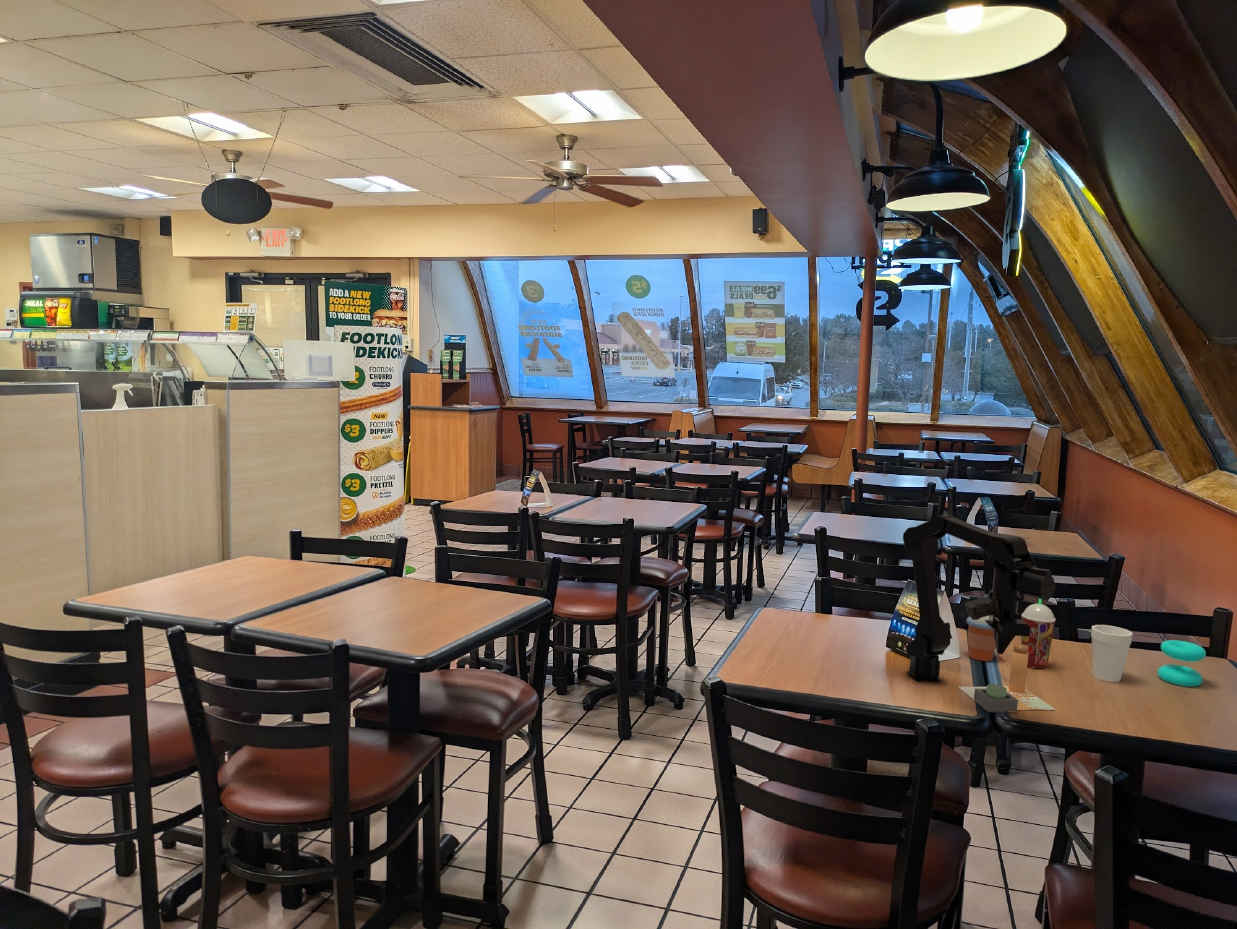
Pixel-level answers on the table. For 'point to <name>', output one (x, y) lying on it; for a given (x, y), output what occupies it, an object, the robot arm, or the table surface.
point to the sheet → (1003, 700)
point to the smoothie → (1038, 634)
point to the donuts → (1178, 672)
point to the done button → (996, 691)
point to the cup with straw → (980, 639)
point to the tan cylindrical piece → (1018, 668)
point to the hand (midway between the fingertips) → (999, 653)
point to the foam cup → (1109, 651)
